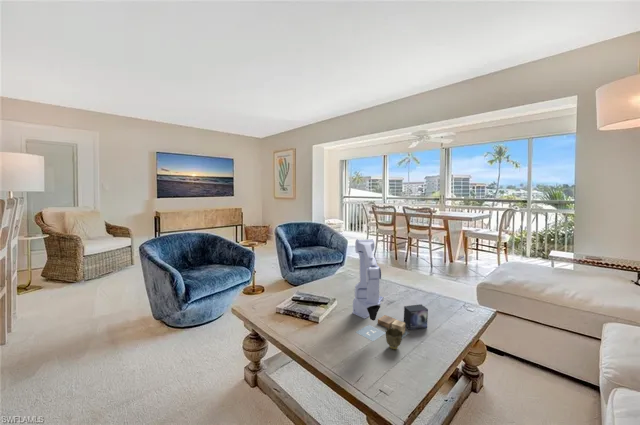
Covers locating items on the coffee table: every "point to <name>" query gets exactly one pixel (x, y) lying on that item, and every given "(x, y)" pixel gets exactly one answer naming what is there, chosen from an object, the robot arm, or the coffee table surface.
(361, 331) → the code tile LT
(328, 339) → the coffee table surface
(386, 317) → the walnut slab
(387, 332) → the cup
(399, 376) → the coffee table surface
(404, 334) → the code tile
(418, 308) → the small box
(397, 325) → the oak block
